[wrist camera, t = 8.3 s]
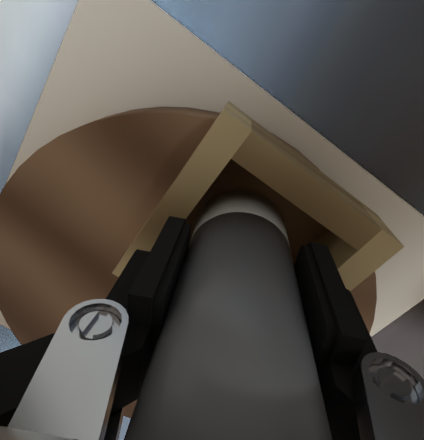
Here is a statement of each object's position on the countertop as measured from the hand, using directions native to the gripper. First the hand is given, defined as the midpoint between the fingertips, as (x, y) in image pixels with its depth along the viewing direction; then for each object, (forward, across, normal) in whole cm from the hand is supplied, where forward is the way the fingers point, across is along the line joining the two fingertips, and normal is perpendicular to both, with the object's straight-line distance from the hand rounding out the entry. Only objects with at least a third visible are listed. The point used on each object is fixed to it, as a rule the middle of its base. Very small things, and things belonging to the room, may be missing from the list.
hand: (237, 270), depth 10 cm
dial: (+5, +2, +5) cm, 8 cm away
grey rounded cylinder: (+3, 0, 0) cm, 3 cm away
